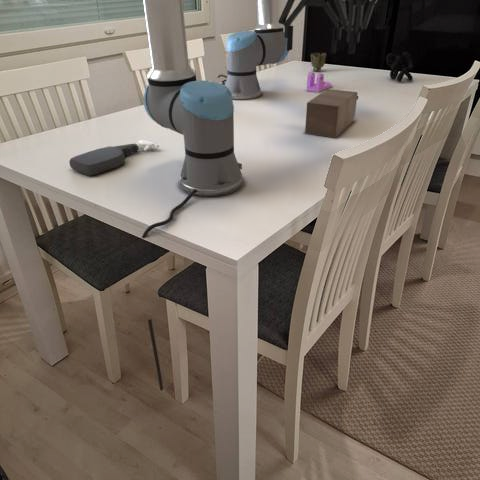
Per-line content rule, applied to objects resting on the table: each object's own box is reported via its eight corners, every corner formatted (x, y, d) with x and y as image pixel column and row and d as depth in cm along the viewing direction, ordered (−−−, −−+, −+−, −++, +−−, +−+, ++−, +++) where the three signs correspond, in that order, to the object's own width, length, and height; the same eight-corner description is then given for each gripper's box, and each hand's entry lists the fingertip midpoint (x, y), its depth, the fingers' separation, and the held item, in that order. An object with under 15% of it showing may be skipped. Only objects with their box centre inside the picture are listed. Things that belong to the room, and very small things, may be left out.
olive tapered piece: (307, 71, 218) (308, 54, 214) (312, 68, 224) (313, 51, 220) (322, 73, 215) (323, 55, 211) (326, 70, 221) (328, 52, 217)
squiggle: (400, 92, 202) (376, 71, 205) (417, 76, 202) (392, 56, 205) (405, 81, 191) (380, 59, 194) (423, 64, 191) (397, 42, 194)
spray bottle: (67, 168, 120) (139, 144, 136) (91, 178, 114) (163, 151, 130) (65, 157, 118) (137, 134, 134) (89, 167, 112) (162, 142, 128)
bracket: (318, 92, 184) (319, 74, 181) (306, 90, 187) (307, 72, 184) (333, 85, 193) (334, 68, 189) (321, 84, 196) (322, 67, 192)
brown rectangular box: (325, 117, 155) (327, 88, 150) (353, 121, 151) (357, 91, 146) (305, 133, 141) (306, 102, 136) (335, 138, 137) (338, 106, 132)
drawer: (335, 108, 161) (337, 86, 157) (359, 111, 157) (362, 88, 153) (312, 126, 144) (313, 102, 140) (338, 130, 140) (341, 105, 136)
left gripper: (365, -34, 119) (356, 51, 130) (278, -33, 128) (276, 47, 140) (358, -33, 113) (349, 56, 124) (268, -32, 123) (267, 50, 134)
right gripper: (385, -31, 135) (374, 52, 147) (343, -31, 140) (336, 50, 153) (379, -30, 129) (368, 56, 142) (335, -30, 135) (328, 53, 147)
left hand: (311, 51), depth 132 cm, fingers open, 13 cm apart
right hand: (351, 53), depth 147 cm, fingers closed
